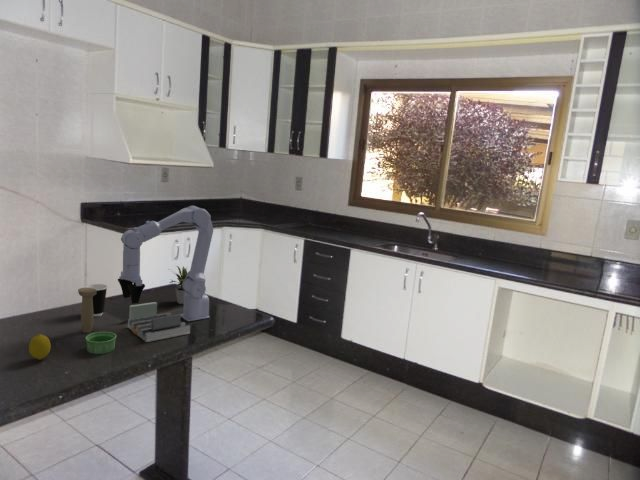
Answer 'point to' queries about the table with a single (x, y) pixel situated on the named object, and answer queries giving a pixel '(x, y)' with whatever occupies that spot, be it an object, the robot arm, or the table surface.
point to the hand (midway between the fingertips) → (130, 300)
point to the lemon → (39, 346)
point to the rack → (158, 327)
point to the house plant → (180, 290)
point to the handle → (87, 308)
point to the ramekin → (100, 342)
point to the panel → (142, 310)
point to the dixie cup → (98, 298)
